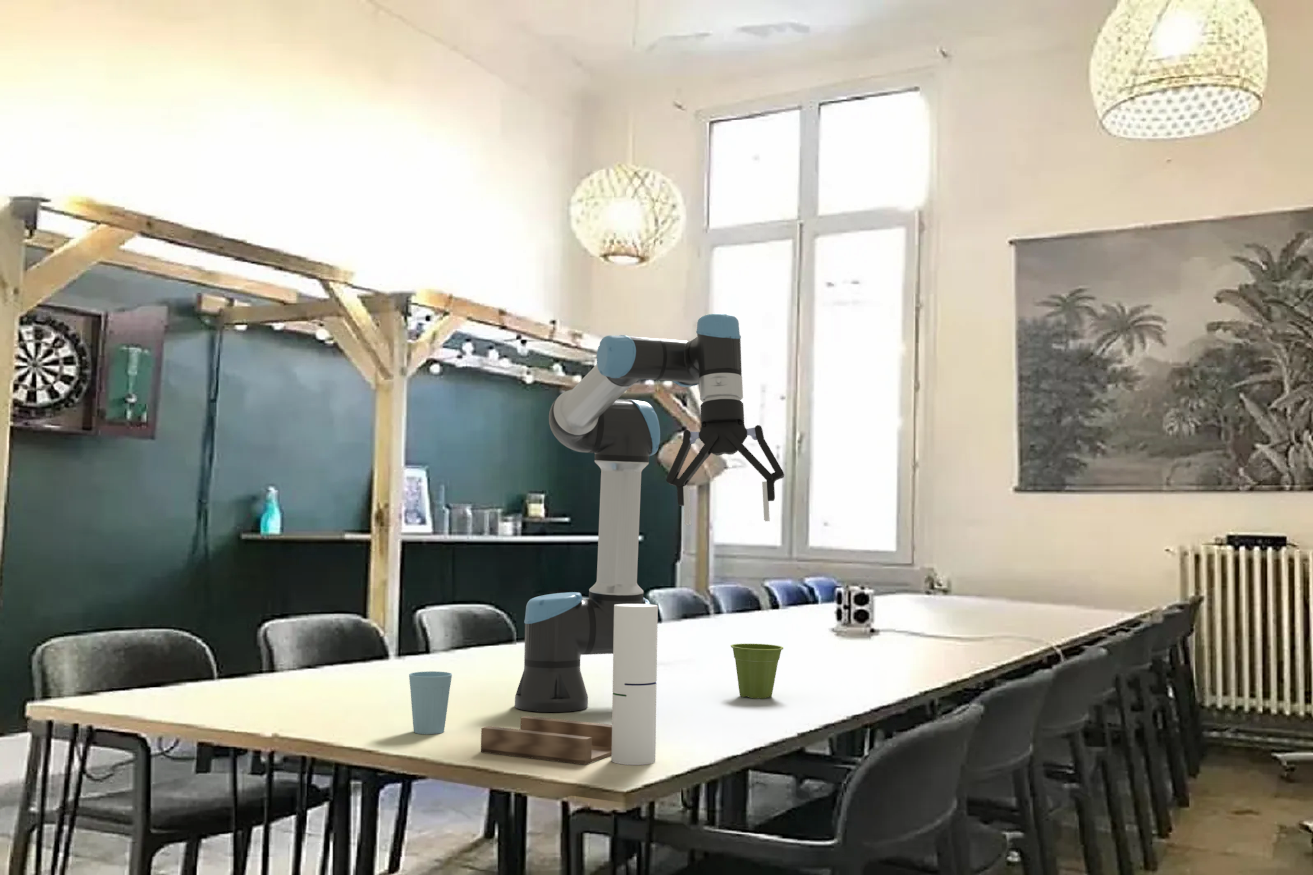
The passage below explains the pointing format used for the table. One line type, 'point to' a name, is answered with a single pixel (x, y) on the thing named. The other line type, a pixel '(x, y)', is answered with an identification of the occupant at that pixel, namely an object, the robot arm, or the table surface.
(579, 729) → the walnut U-channel
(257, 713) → the table surface
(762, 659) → the plant pot
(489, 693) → the table surface
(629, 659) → the cylindrical container
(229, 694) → the table surface
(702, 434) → the robot arm
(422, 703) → the cup
